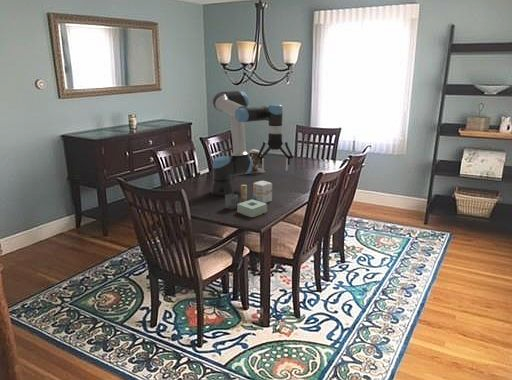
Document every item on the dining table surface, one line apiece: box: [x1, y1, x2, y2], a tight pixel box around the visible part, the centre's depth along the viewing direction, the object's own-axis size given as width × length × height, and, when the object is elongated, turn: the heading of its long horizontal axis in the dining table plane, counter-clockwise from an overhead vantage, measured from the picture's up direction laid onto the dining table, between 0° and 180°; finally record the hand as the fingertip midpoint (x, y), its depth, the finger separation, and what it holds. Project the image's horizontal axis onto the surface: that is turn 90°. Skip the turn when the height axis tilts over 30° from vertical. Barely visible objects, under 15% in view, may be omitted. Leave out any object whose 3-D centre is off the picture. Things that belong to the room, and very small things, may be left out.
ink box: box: [252, 180, 273, 204], centre depth 249 cm, size 9×8×12 cm
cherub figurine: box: [247, 148, 267, 175], centre depth 320 cm, size 18×18×18 cm
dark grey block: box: [224, 193, 239, 211], centre depth 238 cm, size 6×6×8 cm
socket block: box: [236, 198, 268, 218], centre depth 231 cm, size 12×12×5 cm
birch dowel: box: [240, 184, 248, 203], centre depth 242 cm, size 4×4×12 cm
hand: (274, 170), depth 231 cm, fingers open, 13 cm apart
